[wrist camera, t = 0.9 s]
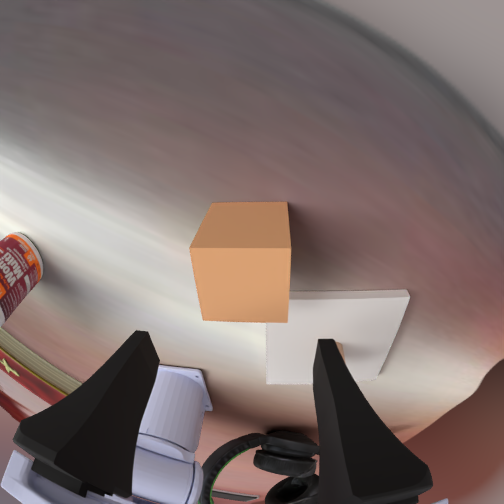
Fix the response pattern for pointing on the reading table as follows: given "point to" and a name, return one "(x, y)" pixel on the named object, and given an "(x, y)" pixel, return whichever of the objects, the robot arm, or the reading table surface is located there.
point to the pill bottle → (17, 272)
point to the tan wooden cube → (243, 262)
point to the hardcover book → (34, 371)
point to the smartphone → (233, 495)
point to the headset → (271, 465)
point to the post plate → (334, 332)
